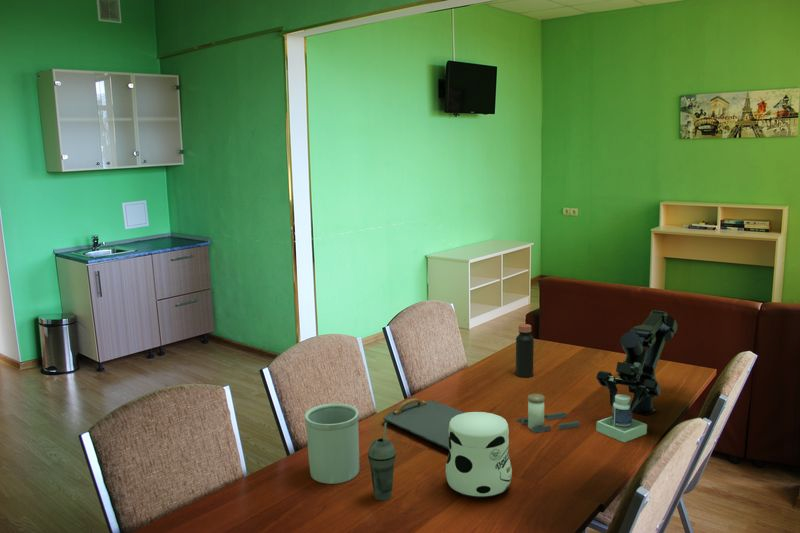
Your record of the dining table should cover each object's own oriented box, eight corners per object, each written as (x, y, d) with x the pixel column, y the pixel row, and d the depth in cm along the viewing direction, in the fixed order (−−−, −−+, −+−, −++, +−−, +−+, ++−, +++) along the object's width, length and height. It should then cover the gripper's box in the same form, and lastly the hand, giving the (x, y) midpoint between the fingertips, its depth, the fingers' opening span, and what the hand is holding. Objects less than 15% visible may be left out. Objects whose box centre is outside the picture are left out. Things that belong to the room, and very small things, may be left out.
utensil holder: (339, 490, 179) (337, 428, 176) (296, 477, 187) (293, 417, 184) (371, 467, 191) (369, 409, 188) (329, 456, 199) (327, 399, 196)
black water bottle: (534, 377, 262) (535, 327, 258) (517, 378, 262) (517, 328, 259) (531, 372, 269) (532, 323, 265) (514, 372, 269) (514, 323, 265)
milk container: (523, 497, 174) (523, 431, 170) (460, 508, 169) (459, 441, 166) (495, 467, 190) (495, 406, 187) (436, 477, 185) (435, 415, 182)
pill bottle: (635, 428, 209) (636, 398, 208) (621, 432, 207) (622, 401, 205) (622, 421, 215) (623, 392, 213) (608, 425, 212) (609, 395, 210)
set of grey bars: (561, 413, 227) (562, 409, 226) (580, 426, 216) (580, 422, 216) (515, 420, 222) (515, 416, 222) (532, 434, 211) (532, 429, 211)
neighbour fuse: (535, 422, 220) (536, 392, 218) (547, 427, 216) (548, 397, 214) (524, 426, 217) (524, 396, 215) (535, 431, 213) (536, 400, 211)
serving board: (512, 439, 209) (512, 420, 208) (459, 463, 194) (459, 442, 193) (427, 405, 238) (427, 388, 237) (375, 423, 223) (375, 405, 222)
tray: (618, 422, 218) (618, 413, 218) (646, 433, 210) (647, 424, 209) (596, 430, 212) (596, 421, 212) (624, 442, 204) (624, 432, 203)
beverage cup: (368, 489, 179) (366, 418, 176) (395, 488, 180) (394, 416, 176) (369, 504, 172) (367, 429, 168) (398, 502, 173) (396, 428, 169)
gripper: (599, 346, 215) (584, 389, 209) (659, 356, 204) (646, 402, 198) (607, 363, 223) (594, 405, 216) (666, 373, 212) (653, 418, 205)
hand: (620, 407), depth 209 cm, fingers closed on pill bottle, 6 cm apart
